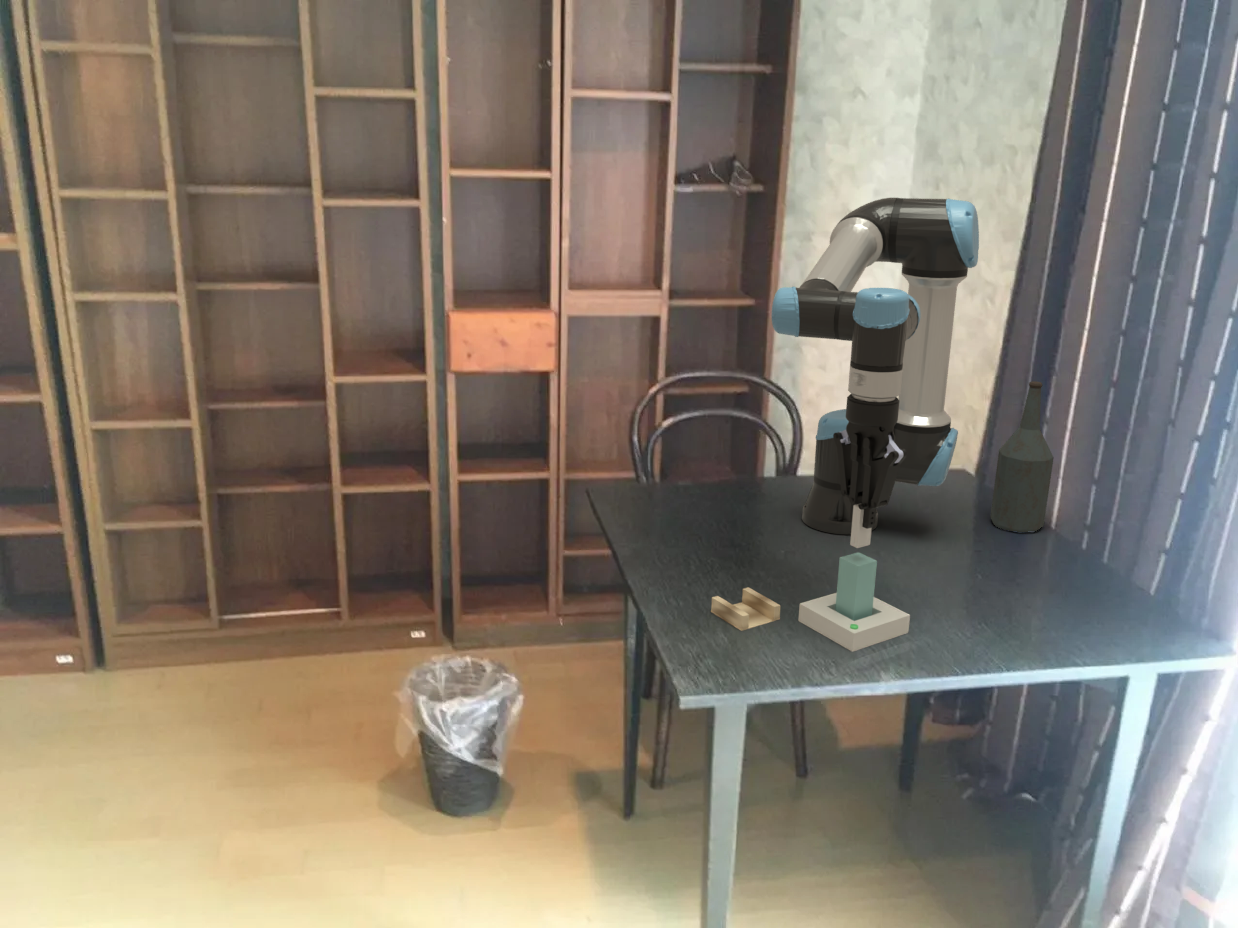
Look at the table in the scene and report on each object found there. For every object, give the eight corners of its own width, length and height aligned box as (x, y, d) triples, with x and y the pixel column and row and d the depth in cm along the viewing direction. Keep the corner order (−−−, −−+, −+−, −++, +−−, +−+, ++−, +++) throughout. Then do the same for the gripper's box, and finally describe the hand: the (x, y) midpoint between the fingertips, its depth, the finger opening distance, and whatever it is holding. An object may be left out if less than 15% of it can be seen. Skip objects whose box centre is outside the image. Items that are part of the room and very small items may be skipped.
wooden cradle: (709, 619, 166) (710, 597, 165) (748, 608, 171) (749, 587, 169) (740, 639, 160) (742, 616, 159) (779, 627, 164) (781, 605, 163)
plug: (833, 627, 162) (839, 557, 158) (852, 621, 164) (858, 552, 160) (851, 637, 159) (858, 566, 155) (870, 631, 161) (877, 560, 157)
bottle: (1047, 536, 204) (1069, 389, 194) (995, 532, 205) (1015, 386, 196) (1035, 517, 213) (1055, 377, 204) (986, 514, 215) (1004, 375, 206)
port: (797, 629, 164) (799, 601, 162) (852, 611, 170) (854, 585, 168) (851, 660, 154) (854, 631, 152) (907, 640, 160) (910, 613, 159)
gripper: (823, 389, 153) (812, 535, 160) (888, 408, 143) (873, 564, 150) (859, 383, 157) (847, 527, 164) (925, 402, 147) (909, 554, 154)
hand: (860, 544), depth 157 cm, fingers closed
